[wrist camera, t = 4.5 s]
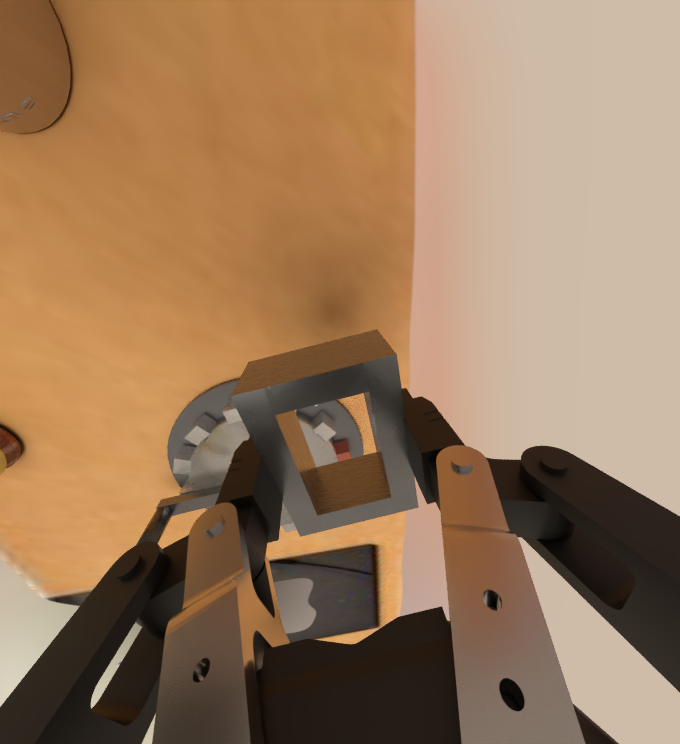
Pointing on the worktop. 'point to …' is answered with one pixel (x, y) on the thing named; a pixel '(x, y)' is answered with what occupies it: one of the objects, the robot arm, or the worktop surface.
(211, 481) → the sprocket
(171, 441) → the sprocket base
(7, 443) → the sauce bottle
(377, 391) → the chain link
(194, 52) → the worktop surface
